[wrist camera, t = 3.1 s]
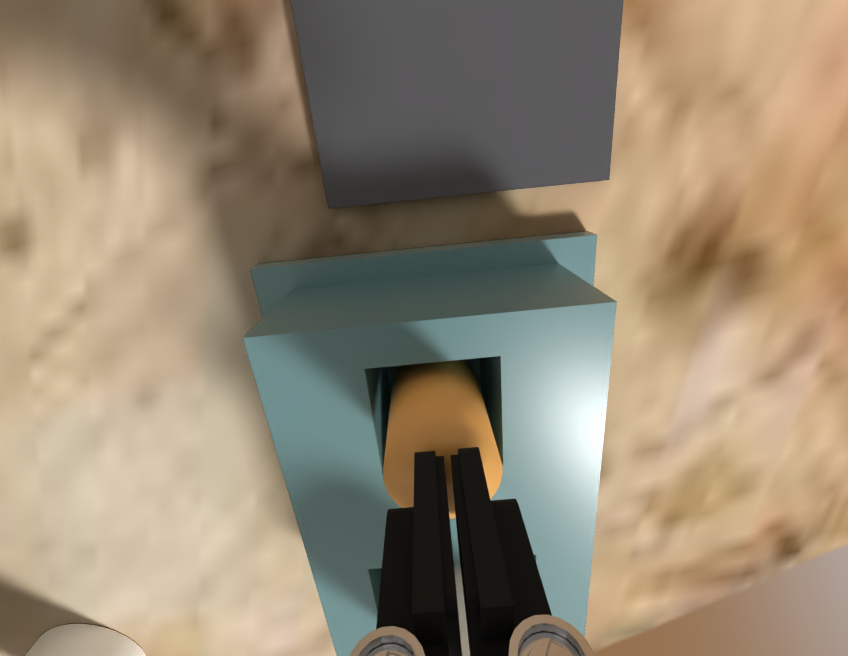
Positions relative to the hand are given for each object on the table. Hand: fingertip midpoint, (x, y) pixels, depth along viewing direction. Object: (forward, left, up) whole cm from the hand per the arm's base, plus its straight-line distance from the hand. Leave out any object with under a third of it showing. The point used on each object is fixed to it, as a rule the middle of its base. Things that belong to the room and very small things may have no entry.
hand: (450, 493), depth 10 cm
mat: (-12, +2, -9) cm, 15 cm away
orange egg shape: (0, 0, -5) cm, 5 cm away
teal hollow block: (+6, 0, -9) cm, 11 cm away
